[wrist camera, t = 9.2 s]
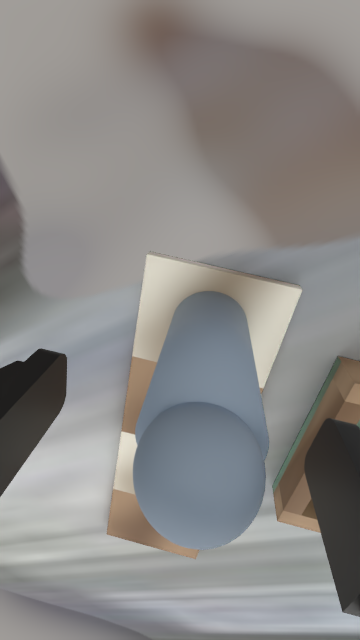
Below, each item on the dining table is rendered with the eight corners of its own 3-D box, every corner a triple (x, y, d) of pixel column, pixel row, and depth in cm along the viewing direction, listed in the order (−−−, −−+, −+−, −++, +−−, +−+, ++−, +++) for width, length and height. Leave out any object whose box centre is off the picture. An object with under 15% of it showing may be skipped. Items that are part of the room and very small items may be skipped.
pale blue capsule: (258, 303, 14) (321, 510, 5) (232, 366, 15) (247, 603, 7) (182, 281, 14) (120, 452, 5) (164, 346, 15) (94, 558, 7)
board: (299, 285, 14) (302, 289, 13) (196, 550, 23) (195, 558, 23) (150, 251, 14) (146, 254, 13) (109, 526, 24) (106, 534, 23)
